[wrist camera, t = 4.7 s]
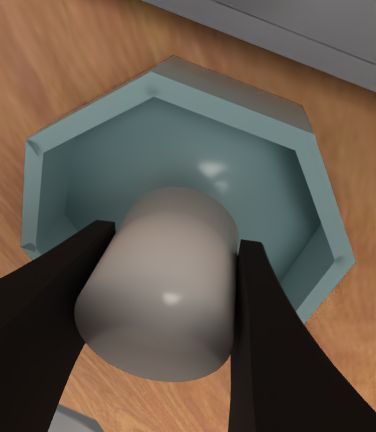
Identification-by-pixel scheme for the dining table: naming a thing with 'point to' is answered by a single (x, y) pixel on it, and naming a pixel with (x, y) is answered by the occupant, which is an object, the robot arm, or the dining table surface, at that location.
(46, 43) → the dining table surface
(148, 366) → the pebble
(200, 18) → the parts tray
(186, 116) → the bowl
